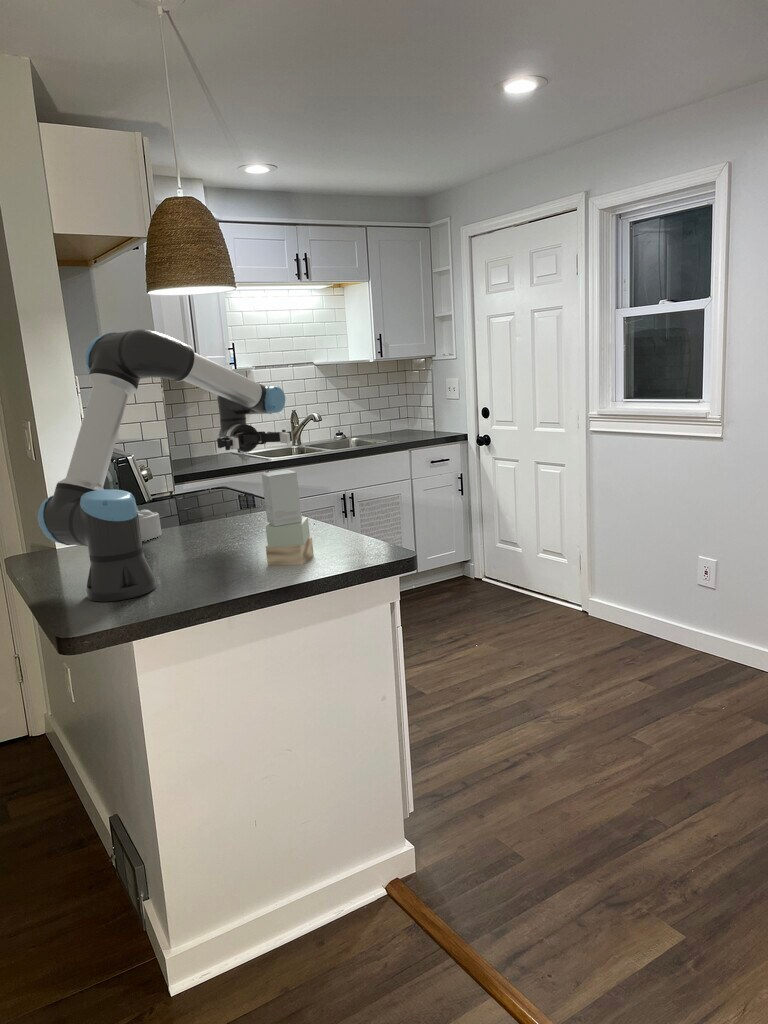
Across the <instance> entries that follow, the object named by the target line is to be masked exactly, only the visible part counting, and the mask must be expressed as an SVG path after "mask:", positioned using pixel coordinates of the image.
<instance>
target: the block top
mask: <svg viewBox="0 0 768 1024" xmlns="http://www.w3.org/2000/svg"><path fill="white" fill-rule="evenodd" d="M265 532H266V542H267V545H268V547H276V546H292V545H304V544H305V543H306V541H307V540H308V538H309V537H311V535H310V525H309V517H308V516H307V517H305V516H304V517H302V522H299V523H293V524H286V525H280V526H273V525H272V524H270V523H269V522H268V524H267V525H266V526H265Z"/></svg>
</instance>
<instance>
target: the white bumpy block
mask: <svg viewBox="0 0 768 1024" xmlns="http://www.w3.org/2000/svg"><path fill="white" fill-rule="evenodd" d="M138 517H139V525H140V532H141V540H142V541H144V540H148V539H151V538H154V537H157V536H159V535H161V534H163V533H162V526H161V520H160V514H159V513H158V512H156V511H151V510H149V509H141V510H138ZM144 542H145V541H144Z"/></svg>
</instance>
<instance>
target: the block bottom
mask: <svg viewBox="0 0 768 1024" xmlns="http://www.w3.org/2000/svg"><path fill="white" fill-rule="evenodd" d="M313 545H314V544H313V536H310V537H309V538H308V540H307V541H306V543H305V544H304V545H292V546H276V547H268V544H267V545H265V553H266V562H267V566H302V565H304V564H305V563H306V562H307V561H309V560H310V559H311V558H312V557H313V556H314V547H313ZM310 557H311V558H310ZM309 558H310V559H309ZM304 562H305V563H304ZM303 563H304V564H303Z"/></svg>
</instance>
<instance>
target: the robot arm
mask: <svg viewBox="0 0 768 1024" xmlns="http://www.w3.org/2000/svg"><path fill="white" fill-rule="evenodd" d="M84 357H85V358H84V359H85V360H84V361H85V365H86V366H87V368H86V369H87V371H88V372H89V373H88V380H89V382H90V384H91V385H92V388H91V390H90V394H89V398H88V401H87V404H86V408H85V411H84V415H83V417H82V422H81V425H80V428H79V431H78V435H77V438H76V441H75V446H74V450H73V452H72V456H71V458H70V462H69V466H68V469H67V472H66V473H67V474H66V476H65V478H63V479H61V480H60V481H58V482H57V483H56V486H55V489H54V492H53V495H50V496H49V497H47V498H46V499H44V500H43V502H41V505H40V507H39V509H38V514H37V521H38V525H39V528H40V530H41V531H42V533H43V535H45V537H46V538H47V539H48V540H50V541H52V542H54V543H57V544H62V545H64V546H81V547H82V546H84V547H87V550H88V555H89V556H88V557H89V562H90V566H89V571H88V575H87V576H88V577H87V582H86V589H85V590H86V597H87V599H88V600H89V601H93V602H105V603H106V602H117V601H123V600H128V599H129V600H130V599H133V598H136V597H140V596H143V595H145V594H148V593H150V592H152V591H153V590H155V589H156V587H157V584H156V583H157V582H156V577H155V575H154V573H153V571H152V569H151V567H150V565H149V563H148V561H147V559H146V557H145V555H144V549H143V542H142V540H141V532H140V525H139V517H138V511H139V508H138V506H137V503H136V498H135V495H133V494H132V492H129V491H126V490H123V489H116V488H115V489H107V488H106V489H104V486H105V482H106V479H107V478H106V477H107V475H108V471H109V468H110V464H111V459H112V457H113V453H114V450H115V446H116V442H117V440H118V439H117V438H118V434H119V431H120V429H121V424H122V421H123V417H124V413H125V410H126V406H127V403H128V399H129V397H131V396H132V395H134V394H136V393H137V392H138V388H139V384H140V380H142V379H147V378H149V379H150V378H163V379H167V380H171V381H173V382H177V383H178V382H182V381H184V383H185V382H186V383H187V384H189V385H190V384H191V385H193V386H195V387H198V388H200V389H202V390H204V391H207V392H210V393H212V394H215V395H217V397H216V399H217V405H218V406H217V407H218V415H219V425H220V428H219V431H218V438H217V439H216V441H217V448H218V449H222V448H225V451H230V450H234V451H235V450H236V451H239V452H240V453H247V452H252V451H253V450H254V449H255V448H256V447H257V446H258V445H266V444H267V443H280V444H287V445H289V444H291V442H292V441H293V436H292V431H290V430H289V431H286V429H282V430H281V431H266V432H265V431H258V430H257V429H256V428H255V427H254V426H252V425H249V424H247V417H246V416H247V415H266V414H267V415H272V414H275V413H276V414H278V413H280V412H281V411H283V410H284V408H285V405H286V395H285V392H284V390H283V389H282V388H281V387H279V386H276V385H275V386H274V385H269V386H267V385H263V384H261V383H259V382H258V381H255V380H253V379H250V378H248V377H246V376H245V375H242V374H240V373H238V372H235V370H232V369H230V368H227V367H225V366H223V365H222V364H219V363H217V362H215V361H213V360H210V359H209V358H207V357H204V356H202V355H201V354H198V353H196V352H195V350H194V348H193V347H192V346H191V345H189V344H186V343H185V342H182V341H180V340H178V339H176V338H174V337H171V336H169V335H166V334H165V333H164V334H163V333H161V332H158V331H154V330H152V329H151V330H150V329H145V328H144V329H143V328H142V329H140V328H139V329H133V330H132V329H131V330H127V331H120V332H116V331H115V332H113V331H112V332H108V333H107V332H106V333H105V334H101V335H99V336H97V337H96V338H93V339H92V340H91V342H90V343H89V344H88V346H87V348H86V351H85V355H84Z"/></svg>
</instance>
